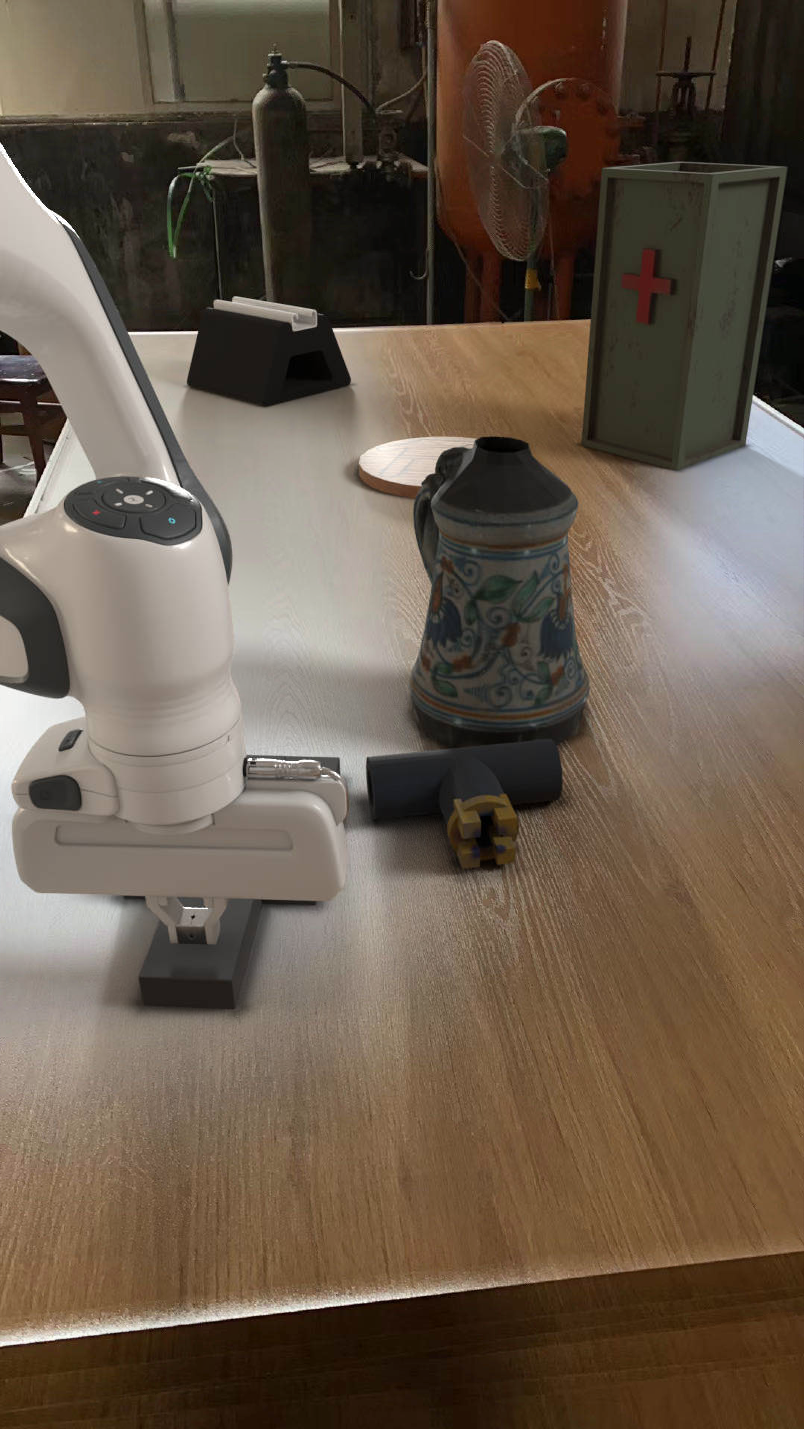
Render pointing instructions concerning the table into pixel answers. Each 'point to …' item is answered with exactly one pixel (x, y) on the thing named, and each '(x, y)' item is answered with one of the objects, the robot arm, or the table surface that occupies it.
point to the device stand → (265, 352)
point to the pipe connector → (468, 791)
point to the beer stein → (497, 600)
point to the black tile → (201, 961)
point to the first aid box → (679, 308)
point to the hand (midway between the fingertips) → (196, 938)
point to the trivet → (405, 463)
